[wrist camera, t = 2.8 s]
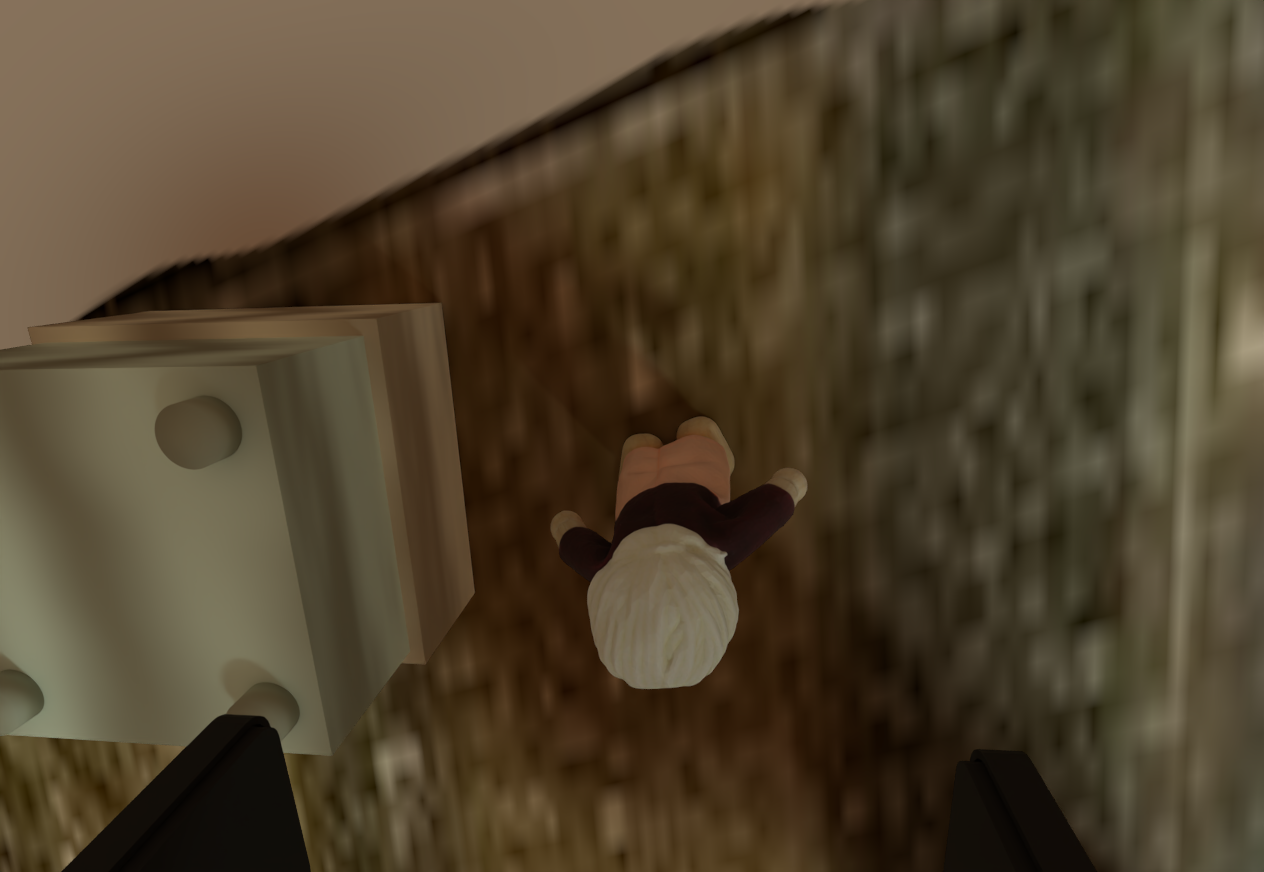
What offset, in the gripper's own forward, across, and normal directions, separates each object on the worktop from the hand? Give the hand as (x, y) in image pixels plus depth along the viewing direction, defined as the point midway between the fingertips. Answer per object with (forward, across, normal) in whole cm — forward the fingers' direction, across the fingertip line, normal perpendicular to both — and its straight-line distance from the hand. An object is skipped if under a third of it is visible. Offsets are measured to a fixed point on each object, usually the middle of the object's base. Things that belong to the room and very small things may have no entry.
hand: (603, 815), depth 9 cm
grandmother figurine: (+17, -1, +1) cm, 17 cm away
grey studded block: (+17, +14, +1) cm, 23 cm away
